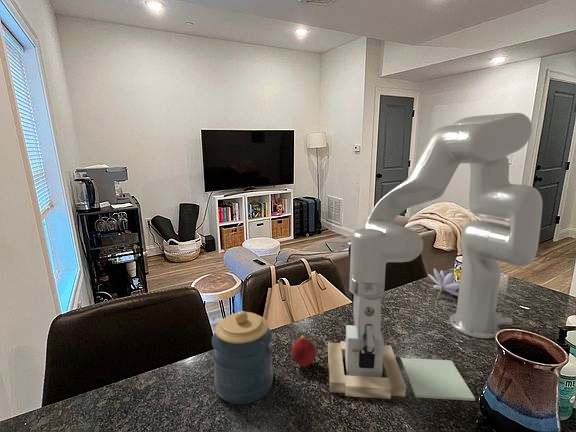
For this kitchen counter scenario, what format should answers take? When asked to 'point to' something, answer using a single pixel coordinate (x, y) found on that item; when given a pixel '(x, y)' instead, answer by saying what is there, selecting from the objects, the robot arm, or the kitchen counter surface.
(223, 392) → the canister
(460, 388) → the pad
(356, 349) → the small box
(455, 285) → the water lily
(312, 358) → the red round piece
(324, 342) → the kitchen counter surface
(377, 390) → the wooden square frame
